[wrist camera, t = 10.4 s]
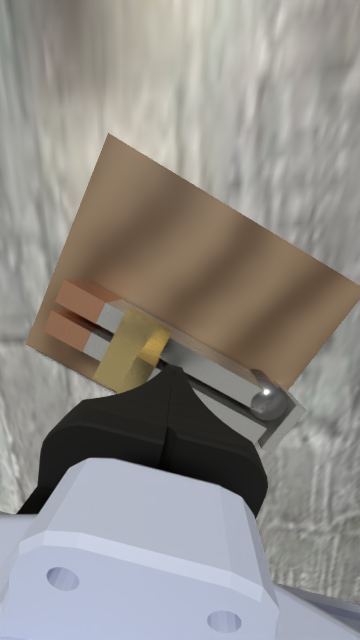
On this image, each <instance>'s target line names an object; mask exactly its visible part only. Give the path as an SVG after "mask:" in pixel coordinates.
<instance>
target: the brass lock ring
mask: <svg viewBox="0 0 360 640" xmlns="http://www.w3.org/2000/svg"><path fill="white" fill-rule="evenodd" d="M172 332H173V330H171V329H169V328H168V327H166V326H164V325H162V324H161V323H159V322H157V321H155V320H153V319H152V318H150V317H148V316H146V315H145V314H143V313H141V312H139V311H137V310H136V309H134V308H132V307H131V308H128V309H127V310H126V312H125V314H124V316H123V318H122V320H121V322H120V324H119V326H118V328H117V330H116V332H115V334H114V336H113V338H112V340H111V342H110V344H109V346H108V348H107V350H106V352H105V354H104V356H103V358H102V360H101V362H100V364H99V366H98V368H97V370H96V372H95V374H94V376H93V379H95V380H97V381H98V382H100V383H102V384H104V385H106V386H108V387H110V388H112V389H113V390H115V391H117V393H116V394H119V393H123V392H126V391H128V390H131V389H134V388H136V387H138V386H140V385H142V384H144V383H146V382H147V381H148V379H149V377H150V375H151V374H152V372H153V370H154V369H155V367H156V364H157V362H158V360H159V358H160V355H161V353H162V351H163V348H164V346H165V345H166V343H167V341H168V339H169V338H170V336H171V334H172Z"/></svg>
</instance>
